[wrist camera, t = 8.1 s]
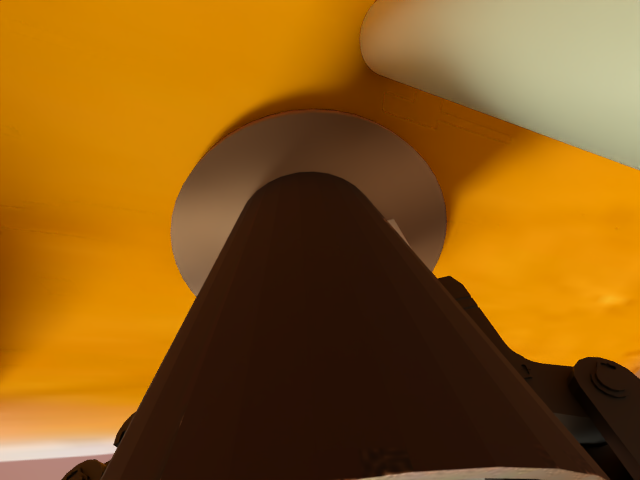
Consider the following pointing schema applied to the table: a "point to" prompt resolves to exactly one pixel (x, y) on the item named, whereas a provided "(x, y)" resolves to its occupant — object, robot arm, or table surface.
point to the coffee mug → (336, 363)
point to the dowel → (521, 63)
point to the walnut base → (304, 156)
